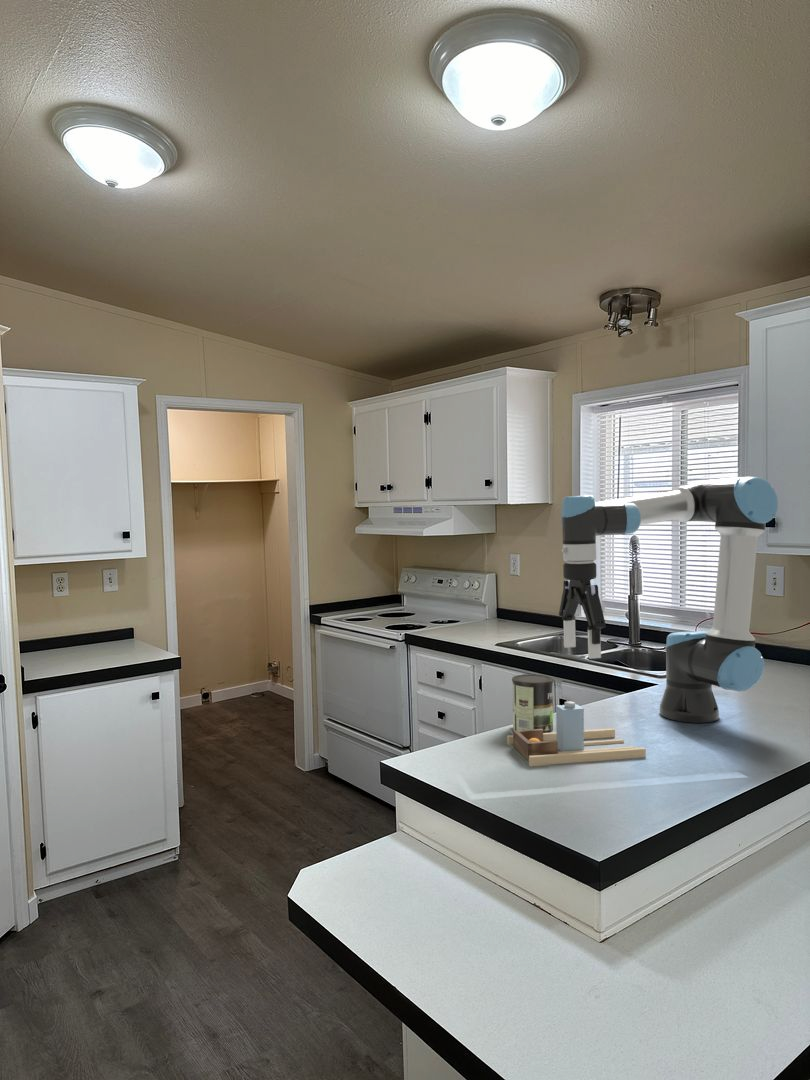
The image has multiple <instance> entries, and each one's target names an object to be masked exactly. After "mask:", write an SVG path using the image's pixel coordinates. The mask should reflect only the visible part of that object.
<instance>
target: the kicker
mask: <svg viewBox="0 0 810 1080" xmlns="http://www.w3.org/2000/svg"><path fill="white" fill-rule="evenodd" d="M555 707H556V709H555V712H556V714H555V719H556V722H555V723H556V724H555V726H556V727H555V728H556V741H558V752H564V751H577V750H585V746H584V742H585V739H584V730H585V725H584V724H585V722H584V720H585V719H584V717H585V715H584V714H585V713H584V712H585V711H584V708H583V707H582V706H580V705H579V704H576V702H574V701H564V704H562V705H561V704H558V705H556V706H555Z"/></svg>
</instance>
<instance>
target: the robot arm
mask: <svg viewBox="0 0 810 1080" xmlns="http://www.w3.org/2000/svg"><path fill="white" fill-rule="evenodd" d="M778 507H779V501H778V495H777V492H776V490H775V489H774V487H772V485H771V483H770V481H768V480H766V479H764V478H762V477H760V476H743V475H742V476H737V477H727V478H715V479H708V480H703V481H701V482H696V483H693V484H687V485H683V486H677V487H675V488H673V489H672V490H671V491H665V492H661V493H658V492H657V493H653V494H652V493H651V494H646V495H639V496H638V495H637V496H631V497H624V498H616V499H609V500H602V501H597V502H596V500H595V497H594V496H593V495H573V496H565V497H563V499H562V502H561V515H560V522H561V529H562V530H561V531H562V532H561V533H562V548H561V553H562V555H563V557H562V558H563V559H562V560H563V561H564V562H565V563H563V565H562V570H563V571H562V572H563V574H562V575H563V578H564V580H563V590H562V595H561V601H560V604H559V605H560V606H559V612H558V615H559V617H561V620H562V621H563V647H564V648H576V647H577V643H576V641H577V640H576V639H577V637H576V620H577V619H576V616H575V615H576V612H577V609H578V606H579V605H580V606H581V607H582V610H583V613H584V615H585V618H586V621H587V624H588V625H587V628H586V631H587V652H588V653H587V654H588V656H587V657H588V659H589V660H591V659H602V644H601V643H602V641H601V640H602V639H601V630H602V629H604V628H606V627H607V626H606V620H605V617H604V616H605V615H604V612H603V608H602V607H603V606H602V603H601V600H600V594H599V586H598V584H592V582H591V581H592V580H596V578H597V576H598V575H597V563H596V562H595V561H596V560H597V543H596V542H597V541H596V540H597V539H596V538H597V537H598V536H614V535H615V536H616V535H617V536H618V535H623V536H625V535H628V534H629V535H630V534H634V533H636V532H637V531H638V529H639V528H640V526H642V525H649V524H654V523H655V524H656V523H660V522H661V523H662V522H669V521H674V520H675V521H677V522H679V523H687V522H703V523H704V522H705V523H715V525H714V528H715V530H716V531H717V532H718V534H720V541H719V550H718V551H719V553H718V562H717V574H716V585H715V586H716V587H715V596H714V597H715V598H714V599H715V600H714V611H713V620H712V621H713V623H712V627H711V628H710V629H709V630H708V631H705V630H704V631H702V630H701V631H696V630H695V631H694V630H693V631H692V630H691V631H678V632H671V633H669V634H668V635H667V636H666V643H665V644H666V645H665V667H666V668H665V671H666V672H665V673H666V675H665V677H666V683H665V684H666V685H665V689H664V692H663V695H662V698H661V701H660V704H659V715H660V716H662V717H664V718H666V719H669V720H672V721H677V722H684V723H693V724H699V723H700V724H703V723H712V722H716V721H718V720H719V718H720V710H719V706H718V704H717V700H716V697H715V694H714V692H713V686H715V687H718V688H721V689H724V690H726V691H734V692H746V691H748V690H751V689H752V688H753V687H754V686H755V685H756V684H757V683H758V682H759V681H760V680H761V677H762V676H763V672H764V668H765V660H764V657H763V656H762V653H761V652H760V650H758V649H757V648H756V638H755V636H753V634H751V631H750V627H751V616H752V604H753V593H754V581H755V570H756V560H757V547H758V538H759V536H761V535H762V534H763V533H765V532H766V523H767V524H768V523H769V522H770V521H772V520H773V519H774V517H775V516H776V514H777V512H778Z"/></svg>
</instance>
